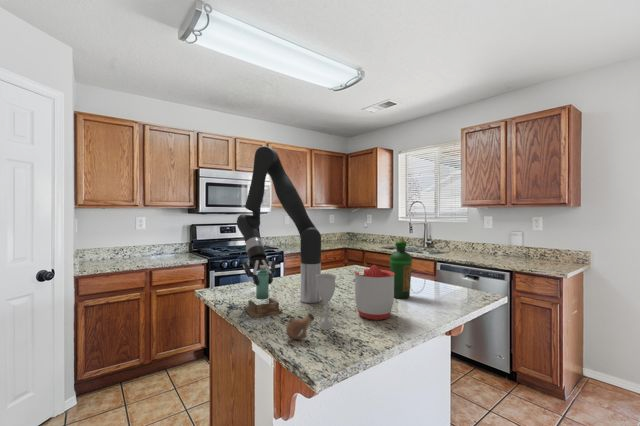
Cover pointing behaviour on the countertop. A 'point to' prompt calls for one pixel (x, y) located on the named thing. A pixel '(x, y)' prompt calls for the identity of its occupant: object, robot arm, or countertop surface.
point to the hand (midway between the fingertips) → (264, 283)
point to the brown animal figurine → (298, 327)
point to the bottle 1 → (262, 284)
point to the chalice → (326, 295)
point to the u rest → (263, 308)
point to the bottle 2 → (401, 270)
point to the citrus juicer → (374, 293)
